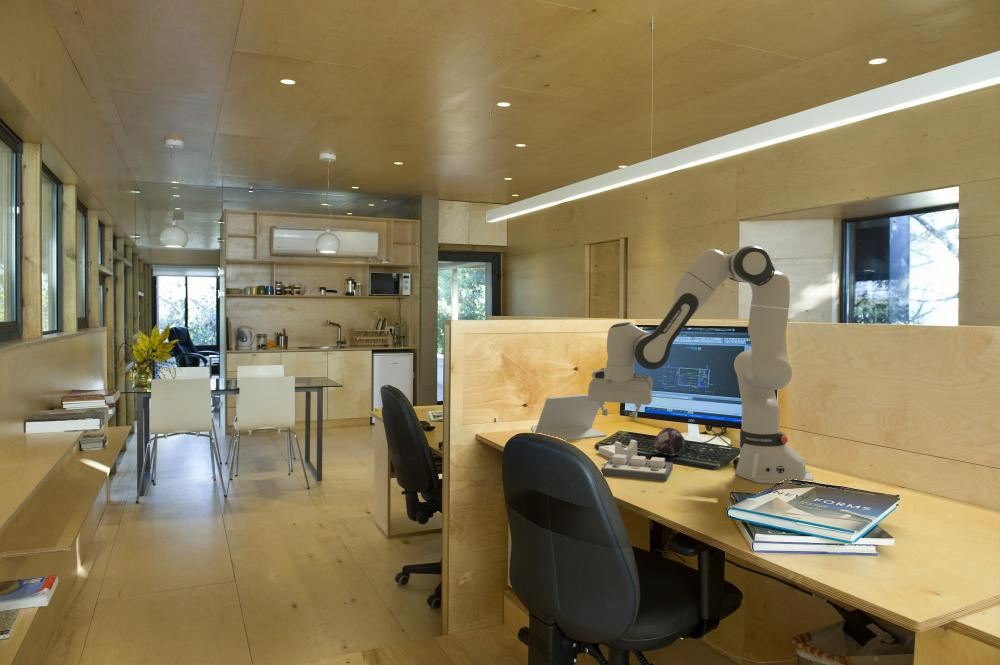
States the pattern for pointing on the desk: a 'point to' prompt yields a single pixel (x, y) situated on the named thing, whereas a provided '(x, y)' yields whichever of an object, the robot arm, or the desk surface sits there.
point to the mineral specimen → (669, 441)
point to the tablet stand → (569, 418)
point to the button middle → (638, 461)
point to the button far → (619, 459)
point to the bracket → (619, 449)
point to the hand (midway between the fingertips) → (619, 416)
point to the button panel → (637, 470)
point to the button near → (657, 462)
